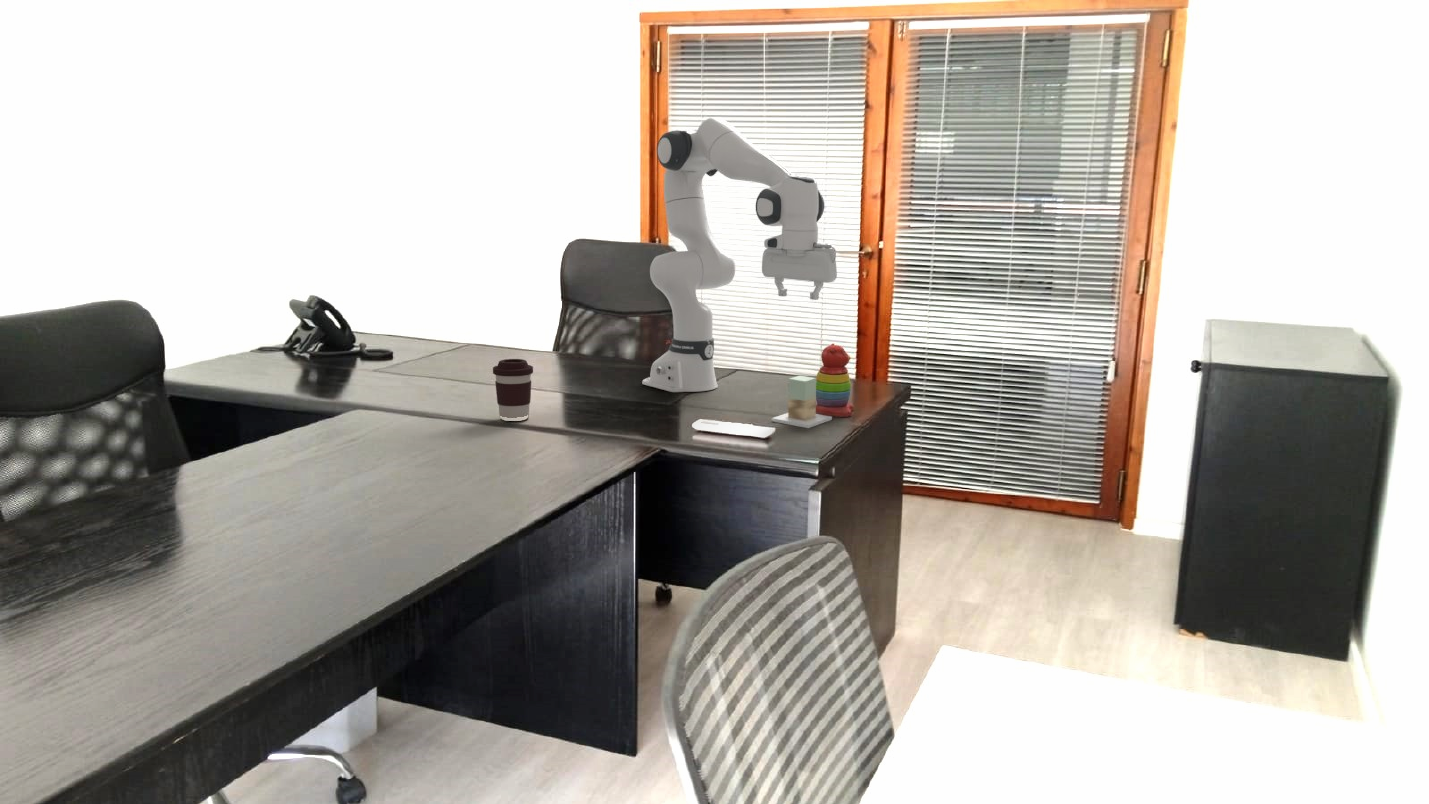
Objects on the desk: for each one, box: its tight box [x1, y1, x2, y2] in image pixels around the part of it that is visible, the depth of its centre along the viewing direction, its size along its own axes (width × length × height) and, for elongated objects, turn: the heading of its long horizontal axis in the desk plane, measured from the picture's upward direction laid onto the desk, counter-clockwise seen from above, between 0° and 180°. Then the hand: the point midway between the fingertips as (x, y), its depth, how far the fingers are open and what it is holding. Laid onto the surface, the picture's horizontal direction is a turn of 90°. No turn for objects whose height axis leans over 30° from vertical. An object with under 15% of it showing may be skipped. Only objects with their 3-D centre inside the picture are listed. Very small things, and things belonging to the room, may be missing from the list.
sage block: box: [788, 375, 816, 401], centre depth 278 cm, size 5×5×5 cm
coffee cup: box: [492, 358, 534, 418], centre depth 278 cm, size 10×10×15 cm
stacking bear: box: [815, 343, 855, 418], centre depth 287 cm, size 11×10×18 cm
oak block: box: [787, 398, 817, 420], centre depth 279 cm, size 5×5×5 cm
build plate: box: [771, 412, 833, 429], centre depth 280 cm, size 11×11×1 cm
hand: (798, 297), depth 274 cm, fingers open, 8 cm apart
